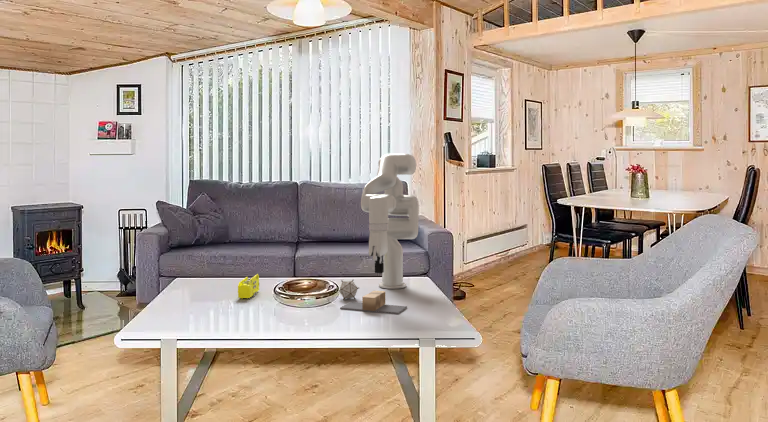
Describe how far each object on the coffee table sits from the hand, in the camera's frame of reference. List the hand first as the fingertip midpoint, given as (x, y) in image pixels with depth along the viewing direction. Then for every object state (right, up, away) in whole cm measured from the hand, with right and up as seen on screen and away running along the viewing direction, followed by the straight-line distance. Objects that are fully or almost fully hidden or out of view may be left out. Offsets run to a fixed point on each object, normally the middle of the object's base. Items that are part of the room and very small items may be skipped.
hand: (379, 272), depth 236 cm
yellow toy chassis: (-56, -12, +19) cm, 61 cm away
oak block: (0, -10, +1) cm, 10 cm away
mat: (-2, -14, -5) cm, 15 cm away
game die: (-13, -12, +11) cm, 21 cm away
